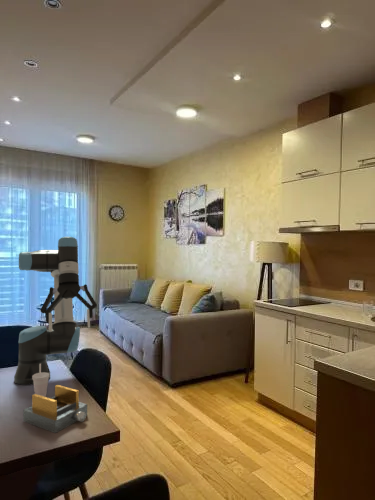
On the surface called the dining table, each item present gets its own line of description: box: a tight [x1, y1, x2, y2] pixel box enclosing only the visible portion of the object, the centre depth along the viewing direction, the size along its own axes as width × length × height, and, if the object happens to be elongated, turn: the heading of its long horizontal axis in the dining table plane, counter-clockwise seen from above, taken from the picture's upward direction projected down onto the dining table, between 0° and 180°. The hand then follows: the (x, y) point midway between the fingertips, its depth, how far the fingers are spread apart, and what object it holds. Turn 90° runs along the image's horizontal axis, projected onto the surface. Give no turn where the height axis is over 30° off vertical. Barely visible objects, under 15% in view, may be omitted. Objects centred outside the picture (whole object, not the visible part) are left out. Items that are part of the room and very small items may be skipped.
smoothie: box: [32, 364, 50, 397], centre depth 140 cm, size 6×6×14 cm
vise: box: [22, 384, 88, 434], centre depth 124 cm, size 19×14×9 cm
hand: (70, 329), depth 130 cm, fingers open, 13 cm apart
